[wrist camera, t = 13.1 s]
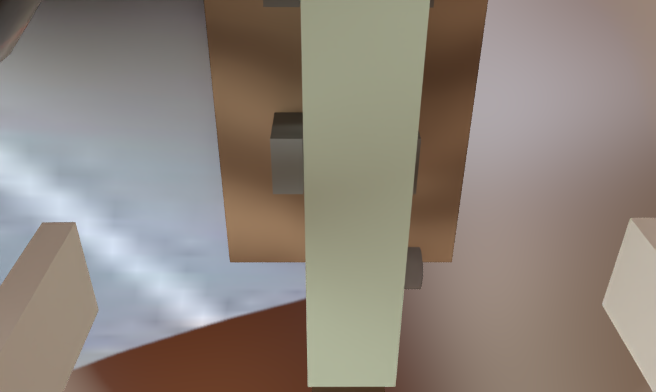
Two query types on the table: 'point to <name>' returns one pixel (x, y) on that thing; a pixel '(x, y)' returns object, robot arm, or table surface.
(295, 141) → the cabinet frame
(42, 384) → the robot arm
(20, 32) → the amphora vase
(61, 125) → the table surface
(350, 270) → the beige flat panel
